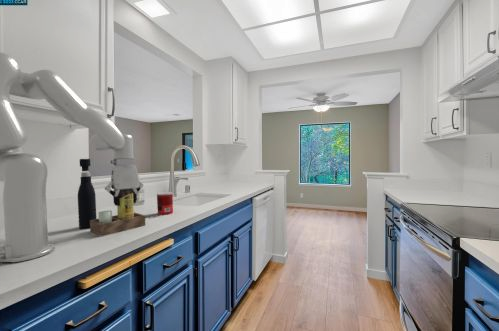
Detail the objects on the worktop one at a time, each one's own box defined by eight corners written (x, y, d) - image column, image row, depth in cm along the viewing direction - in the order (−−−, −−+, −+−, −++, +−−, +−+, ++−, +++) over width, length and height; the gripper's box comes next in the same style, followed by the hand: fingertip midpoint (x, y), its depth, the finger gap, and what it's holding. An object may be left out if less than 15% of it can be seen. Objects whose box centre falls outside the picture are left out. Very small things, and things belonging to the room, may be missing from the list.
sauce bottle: (127, 223, 97) (125, 176, 97) (114, 223, 98) (112, 176, 98) (137, 219, 104) (135, 175, 103) (125, 219, 105) (123, 175, 104)
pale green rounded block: (101, 231, 91) (101, 213, 91) (97, 229, 94) (96, 212, 94) (114, 228, 95) (113, 211, 95) (109, 226, 98) (109, 210, 98)
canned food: (175, 211, 128) (174, 191, 128) (168, 215, 120) (167, 194, 120) (163, 211, 129) (162, 192, 129) (154, 215, 121) (153, 194, 121)
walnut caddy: (101, 236, 88) (100, 224, 88) (90, 231, 95) (89, 220, 95) (145, 225, 102) (145, 215, 102) (133, 221, 109) (132, 212, 109)
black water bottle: (98, 226, 102) (95, 158, 101) (80, 230, 97) (77, 158, 96) (94, 224, 106) (91, 159, 106) (77, 227, 102) (74, 159, 101)
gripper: (105, 163, 91) (107, 208, 92) (147, 162, 105) (149, 201, 105) (98, 163, 96) (100, 206, 96) (139, 162, 110) (141, 200, 110)
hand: (125, 203), depth 101 cm, fingers open, 6 cm apart
